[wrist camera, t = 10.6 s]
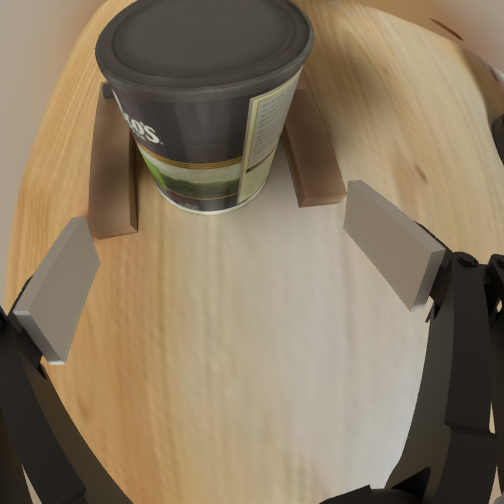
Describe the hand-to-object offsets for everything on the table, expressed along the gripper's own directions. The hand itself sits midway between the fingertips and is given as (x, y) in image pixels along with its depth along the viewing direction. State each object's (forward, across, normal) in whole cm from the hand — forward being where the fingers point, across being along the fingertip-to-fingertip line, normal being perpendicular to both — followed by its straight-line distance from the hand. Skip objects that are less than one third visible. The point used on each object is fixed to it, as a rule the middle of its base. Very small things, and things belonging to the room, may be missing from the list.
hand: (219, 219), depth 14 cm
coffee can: (+12, 0, 0) cm, 12 cm away
